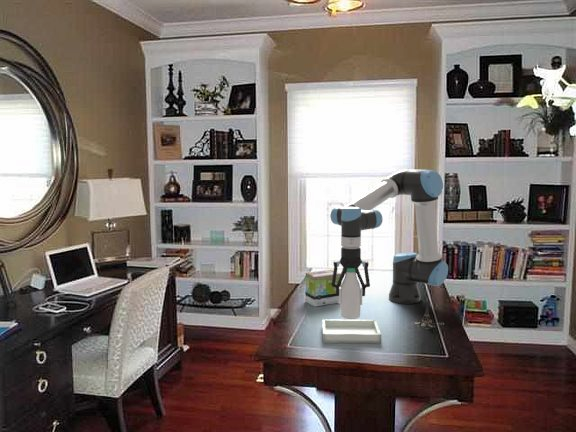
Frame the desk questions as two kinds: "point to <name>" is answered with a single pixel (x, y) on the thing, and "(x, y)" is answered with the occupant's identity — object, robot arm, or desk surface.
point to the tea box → (320, 288)
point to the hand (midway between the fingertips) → (350, 303)
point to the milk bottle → (350, 295)
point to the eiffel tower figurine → (426, 320)
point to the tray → (350, 331)
